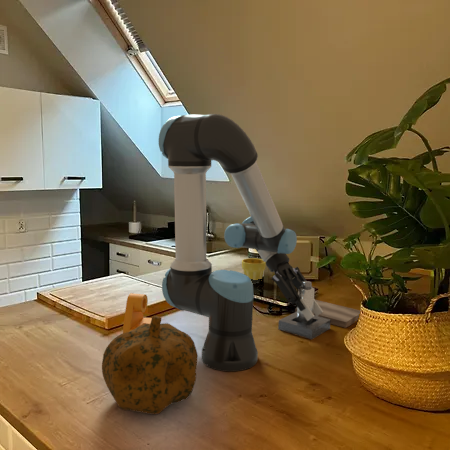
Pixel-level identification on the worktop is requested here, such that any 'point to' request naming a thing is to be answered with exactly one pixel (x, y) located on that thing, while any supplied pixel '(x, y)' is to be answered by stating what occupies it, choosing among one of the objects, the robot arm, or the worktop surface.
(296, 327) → the socket block
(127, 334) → the decorative pumpkin
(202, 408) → the worktop surface
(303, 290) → the clear bottle
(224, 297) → the robot arm
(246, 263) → the plant pot
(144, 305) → the bracket
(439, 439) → the worktop surface
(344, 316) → the board
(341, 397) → the worktop surface
